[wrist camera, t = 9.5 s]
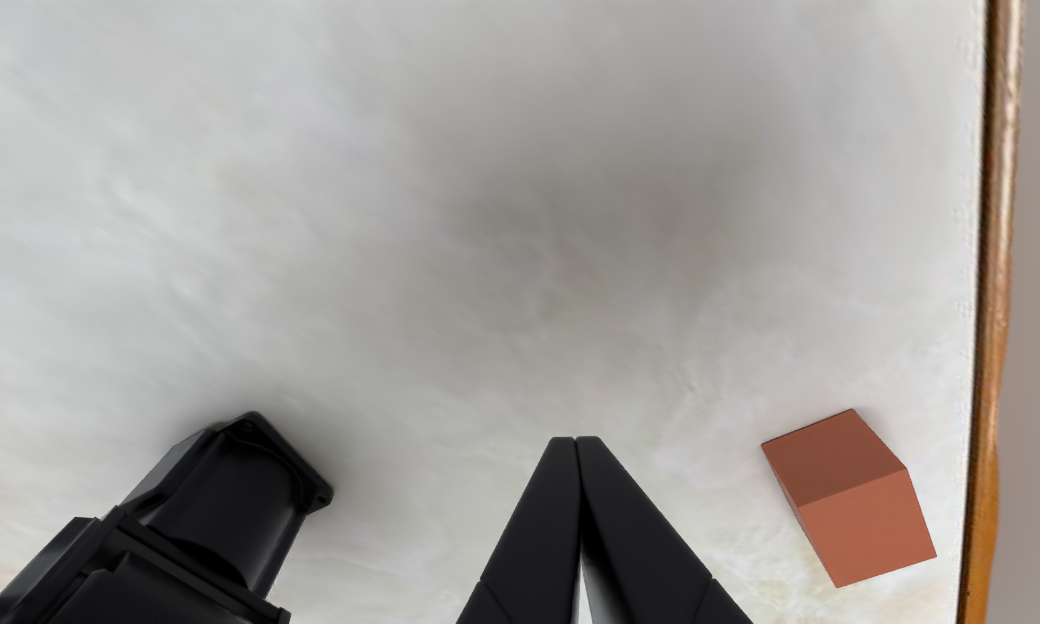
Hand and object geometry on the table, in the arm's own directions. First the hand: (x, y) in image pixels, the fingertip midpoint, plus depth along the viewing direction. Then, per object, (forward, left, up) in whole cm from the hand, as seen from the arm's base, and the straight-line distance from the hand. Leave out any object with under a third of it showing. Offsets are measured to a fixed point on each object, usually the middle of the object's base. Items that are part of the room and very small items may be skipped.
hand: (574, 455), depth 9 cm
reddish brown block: (-18, -6, -13) cm, 23 cm away
